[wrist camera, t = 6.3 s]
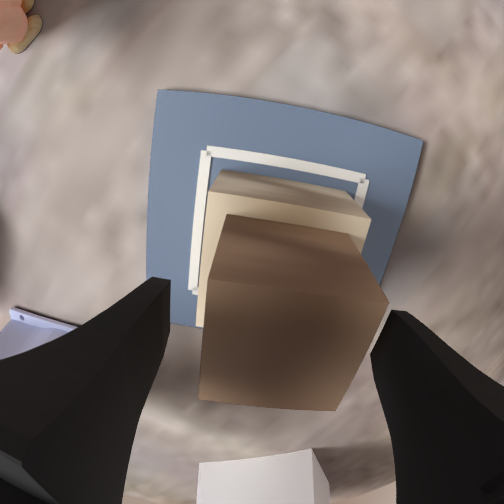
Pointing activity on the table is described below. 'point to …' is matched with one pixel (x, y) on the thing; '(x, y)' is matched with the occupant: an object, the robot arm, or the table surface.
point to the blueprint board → (267, 164)
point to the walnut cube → (286, 316)
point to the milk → (264, 480)
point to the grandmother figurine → (18, 24)
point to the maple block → (274, 212)
